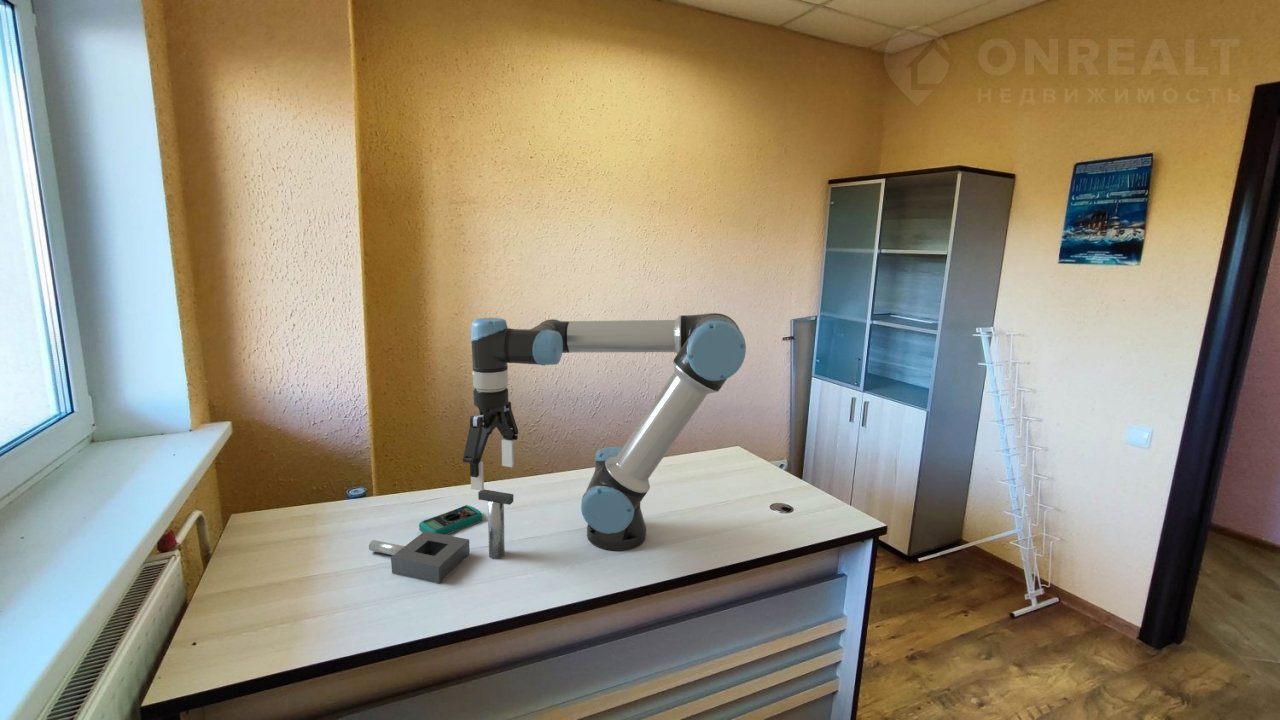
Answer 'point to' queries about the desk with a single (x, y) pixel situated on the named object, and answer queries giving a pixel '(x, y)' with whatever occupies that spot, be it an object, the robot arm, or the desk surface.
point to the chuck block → (425, 556)
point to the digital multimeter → (451, 520)
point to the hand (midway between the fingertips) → (493, 477)
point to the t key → (496, 520)
